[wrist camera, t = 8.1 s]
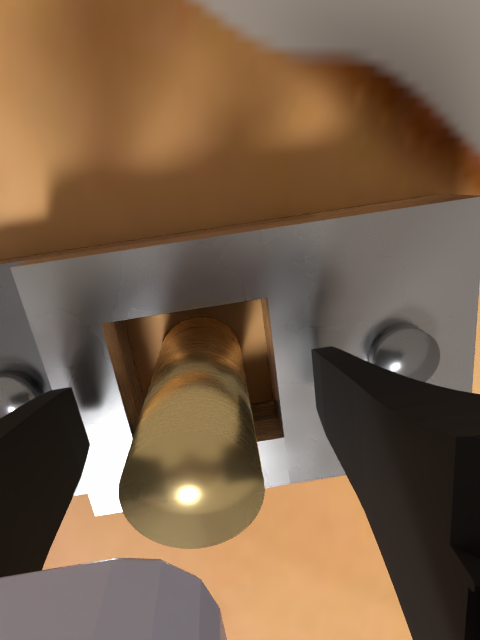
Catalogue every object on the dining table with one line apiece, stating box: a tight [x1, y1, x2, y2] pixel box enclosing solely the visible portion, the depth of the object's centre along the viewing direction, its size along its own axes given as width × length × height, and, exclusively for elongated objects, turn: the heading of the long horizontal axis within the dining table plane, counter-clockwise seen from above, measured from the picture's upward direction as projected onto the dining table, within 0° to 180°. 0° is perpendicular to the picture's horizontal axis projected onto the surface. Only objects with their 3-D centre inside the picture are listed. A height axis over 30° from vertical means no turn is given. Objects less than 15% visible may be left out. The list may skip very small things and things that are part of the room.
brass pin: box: [118, 317, 265, 549], centre depth 11 cm, size 3×3×7 cm
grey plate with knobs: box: [0, 194, 480, 516], centre depth 13 cm, size 18×9×3 cm, turn 98°
